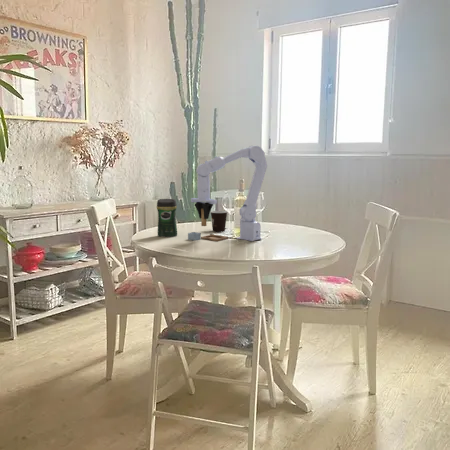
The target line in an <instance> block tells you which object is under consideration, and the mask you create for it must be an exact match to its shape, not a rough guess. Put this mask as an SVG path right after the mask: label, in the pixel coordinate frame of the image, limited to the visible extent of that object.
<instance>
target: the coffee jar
mask: <svg viewBox="0 0 450 450" xmlns="http://www.w3.org/2000/svg"><path fill="white" fill-rule="evenodd" d="M177 206H178V205H177V200H176V198H175V199H174V198H159V199H158V200H157V202H156V210H157V213H158V214H157V215H158V217H157V237H159V238H174V237H175V238H176V237H177V236H178V226H177V220H176V219H177V217H176V211H177Z"/></svg>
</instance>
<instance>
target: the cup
mask: <svg viewBox="0 0 450 450" xmlns="http://www.w3.org/2000/svg"><path fill="white" fill-rule="evenodd" d="M201 235H202V234H201V232H199V231H198V232H197V231H193V232H188V233H187V240H189V241H200V240H202V239H201V237H202V236H201Z"/></svg>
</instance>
